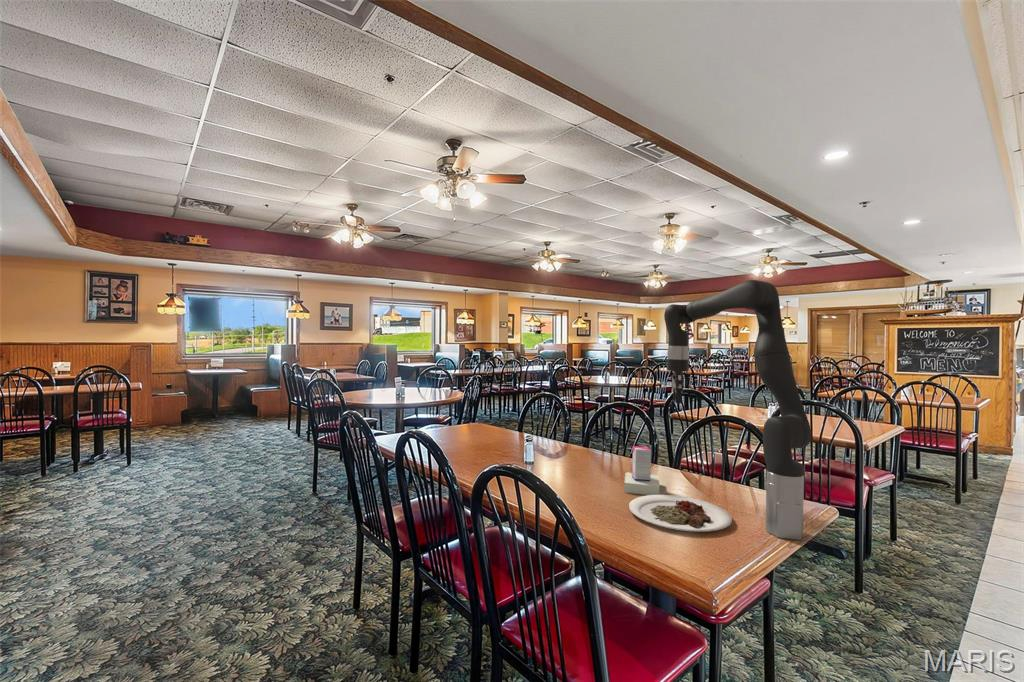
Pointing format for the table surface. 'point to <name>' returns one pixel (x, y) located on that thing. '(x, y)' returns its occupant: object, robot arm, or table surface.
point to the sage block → (642, 485)
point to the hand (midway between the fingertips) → (677, 401)
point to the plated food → (680, 513)
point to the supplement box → (641, 463)
